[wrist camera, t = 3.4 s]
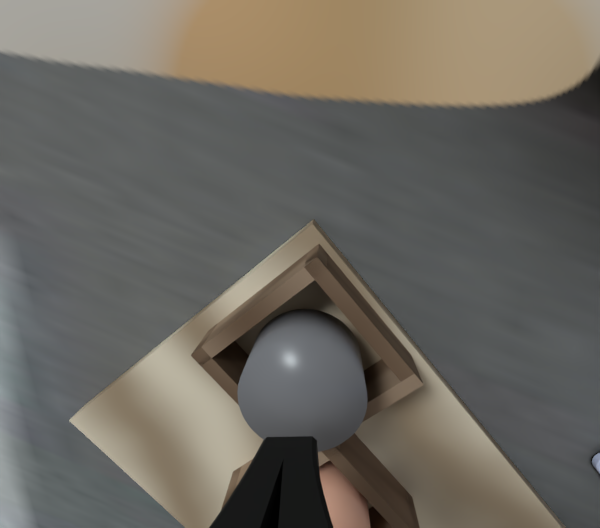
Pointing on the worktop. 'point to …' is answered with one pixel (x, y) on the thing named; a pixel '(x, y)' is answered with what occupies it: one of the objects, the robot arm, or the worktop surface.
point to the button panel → (346, 457)
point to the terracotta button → (343, 499)
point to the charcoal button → (304, 379)
